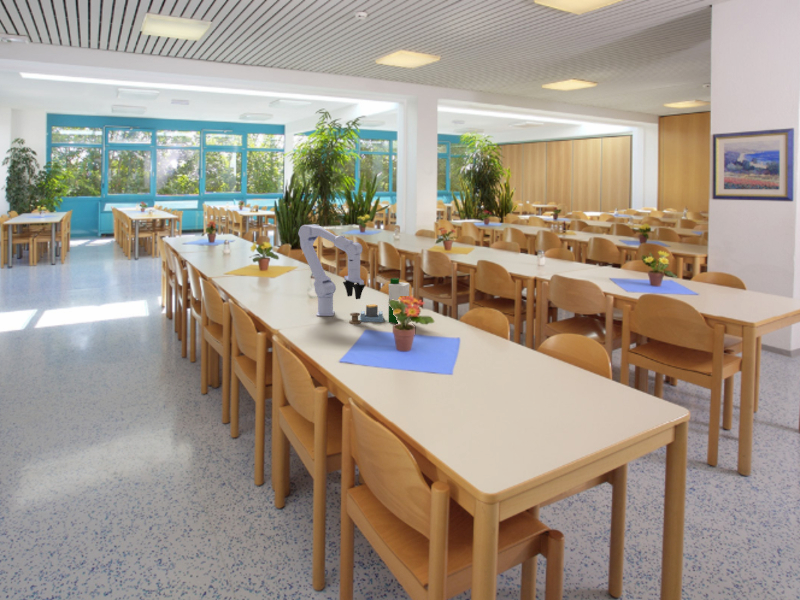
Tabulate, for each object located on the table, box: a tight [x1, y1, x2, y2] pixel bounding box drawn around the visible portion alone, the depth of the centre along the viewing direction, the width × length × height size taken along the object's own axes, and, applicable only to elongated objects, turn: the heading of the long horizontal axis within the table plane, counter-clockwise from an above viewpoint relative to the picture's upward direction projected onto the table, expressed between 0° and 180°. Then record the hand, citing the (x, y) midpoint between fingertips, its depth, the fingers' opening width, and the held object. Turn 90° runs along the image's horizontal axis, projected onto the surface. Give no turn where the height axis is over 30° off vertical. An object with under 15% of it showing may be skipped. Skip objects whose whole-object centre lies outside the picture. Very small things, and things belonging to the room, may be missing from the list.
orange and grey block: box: [365, 303, 379, 317], centre depth 264 cm, size 3×4×5 cm
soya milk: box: [387, 277, 410, 324], centre depth 260 cm, size 9×9×20 cm
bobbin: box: [348, 312, 362, 325], centre depth 258 cm, size 5×5×4 cm
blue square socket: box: [359, 310, 384, 323], centre depth 264 cm, size 9×11×3 cm
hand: (353, 297), depth 265 cm, fingers open, 7 cm apart
